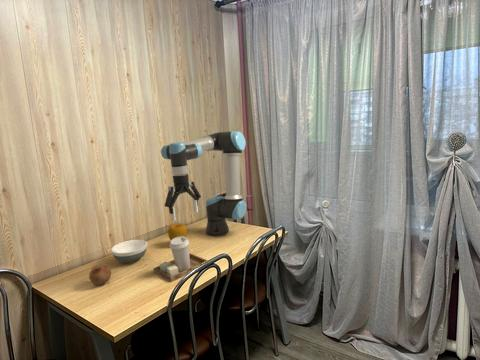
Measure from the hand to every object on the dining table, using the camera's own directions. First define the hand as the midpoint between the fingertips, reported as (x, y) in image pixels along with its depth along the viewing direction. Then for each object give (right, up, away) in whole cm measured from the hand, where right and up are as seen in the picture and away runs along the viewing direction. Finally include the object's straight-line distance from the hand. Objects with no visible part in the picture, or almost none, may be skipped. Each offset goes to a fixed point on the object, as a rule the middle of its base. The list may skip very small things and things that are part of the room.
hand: (185, 215), depth 156 cm
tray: (-1, -26, -2) cm, 26 cm away
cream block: (-4, -27, -9) cm, 29 cm away
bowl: (-32, -26, +13) cm, 43 cm away
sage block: (-8, -27, -4) cm, 28 cm away
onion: (-37, -31, -10) cm, 49 cm away
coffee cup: (0, -25, -2) cm, 25 cm away
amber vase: (-9, -21, +31) cm, 39 cm away
